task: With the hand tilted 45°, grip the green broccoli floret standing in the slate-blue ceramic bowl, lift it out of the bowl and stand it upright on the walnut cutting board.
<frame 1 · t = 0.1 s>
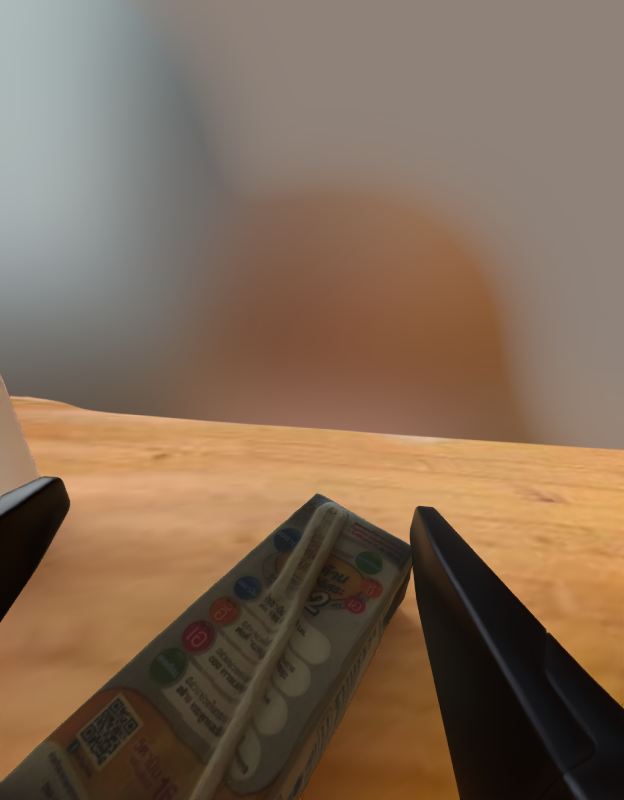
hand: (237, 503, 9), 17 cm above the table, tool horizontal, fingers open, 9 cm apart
beverage carton: (263, 702, 20), on the table
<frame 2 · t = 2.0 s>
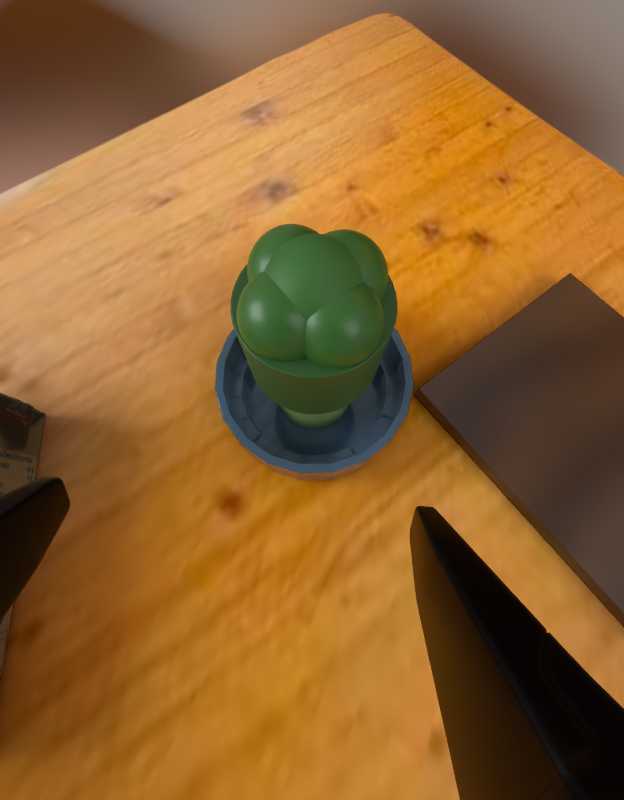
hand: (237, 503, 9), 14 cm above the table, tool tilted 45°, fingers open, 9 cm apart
bowl: (314, 396, 25), on the table
board: (616, 456, 24), on the table
broccoli: (314, 393, 24), point 1 cm above the table, touching bowl
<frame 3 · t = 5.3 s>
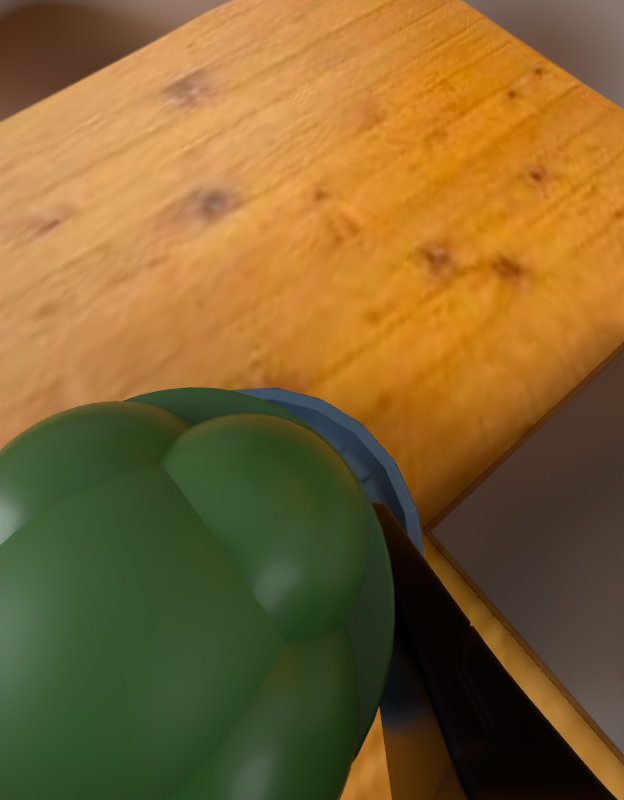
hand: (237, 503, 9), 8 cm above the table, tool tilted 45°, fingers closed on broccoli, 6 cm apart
bowl: (268, 539, 16), on the table
broccoli: (265, 540, 16), point 1 cm above the table, touching bowl, gripper
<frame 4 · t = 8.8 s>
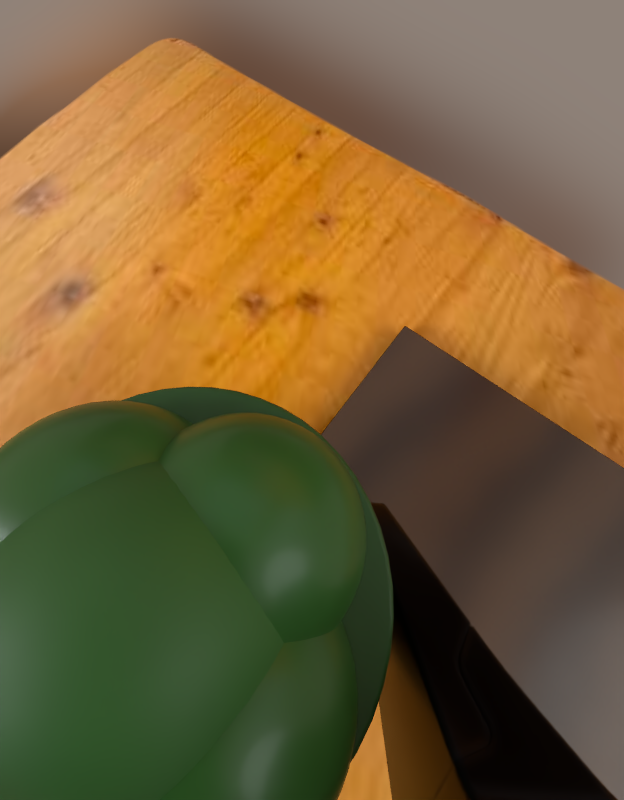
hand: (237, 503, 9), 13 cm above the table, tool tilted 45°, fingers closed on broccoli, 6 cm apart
board: (485, 526, 22), on the table
broccoli: (265, 540, 16), point 6 cm above the table, touching gripper
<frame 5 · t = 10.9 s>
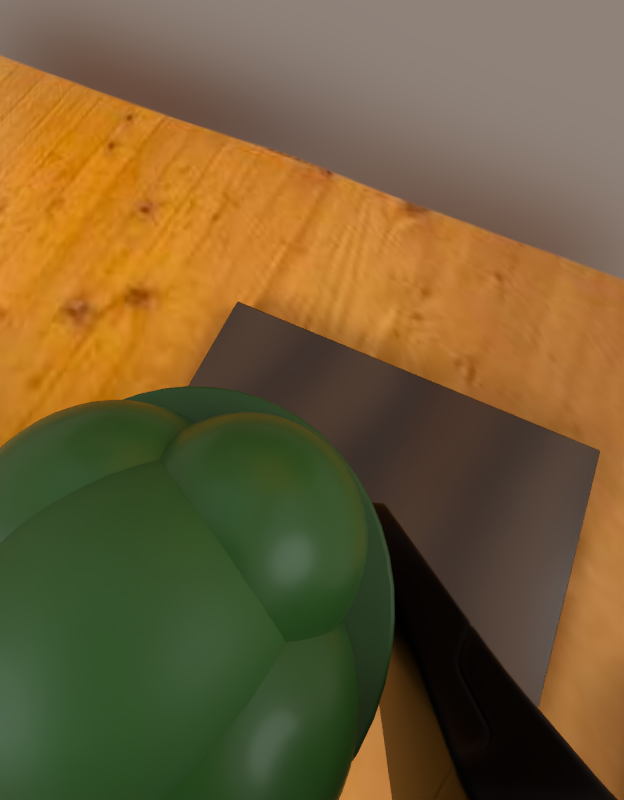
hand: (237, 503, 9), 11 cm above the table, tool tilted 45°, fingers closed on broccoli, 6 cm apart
board: (353, 494, 20), on the table
broccoli: (265, 540, 16), point 4 cm above the table, touching gripper
when the fingers open (8 cm above the table, at t = 12.6 s): broccoli stays where it is, resting on board.
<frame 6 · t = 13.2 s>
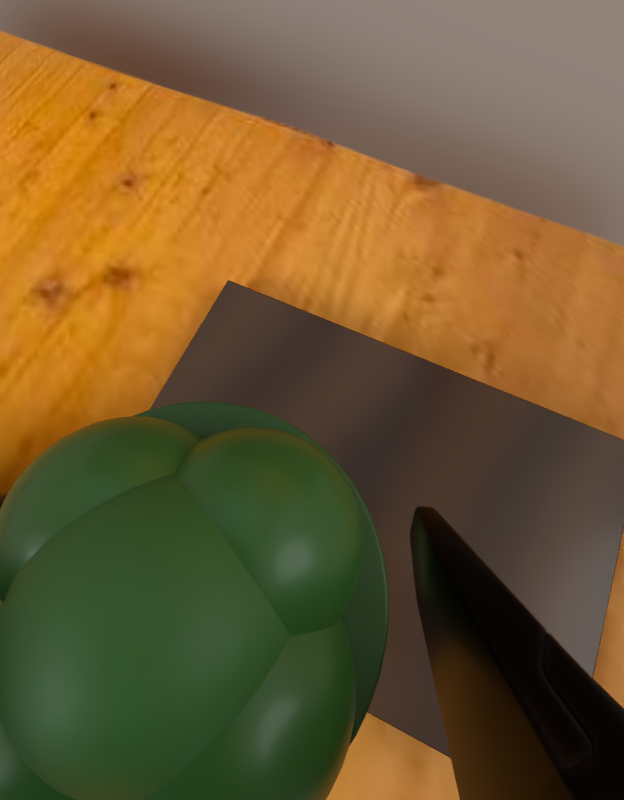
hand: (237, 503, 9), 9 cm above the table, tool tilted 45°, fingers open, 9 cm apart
board: (359, 496, 18), on the table
broccoli: (267, 541, 16), point 1 cm above the table, touching board
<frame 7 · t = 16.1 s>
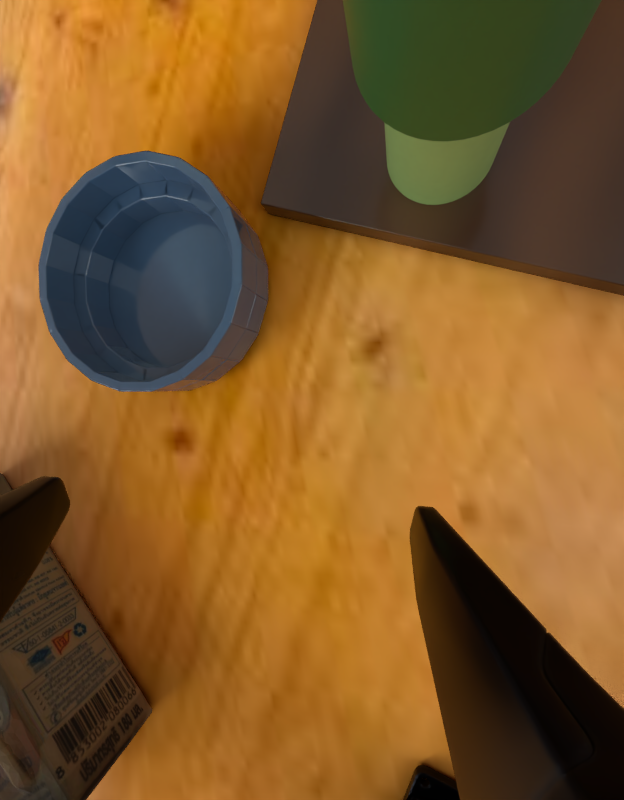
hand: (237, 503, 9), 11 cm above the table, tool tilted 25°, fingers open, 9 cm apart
bowl: (180, 293, 22), on the table
board: (527, 101, 17), on the table
broccoli: (439, 152, 17), point 1 cm above the table, touching board
beverage carton: (46, 608, 25), on the table
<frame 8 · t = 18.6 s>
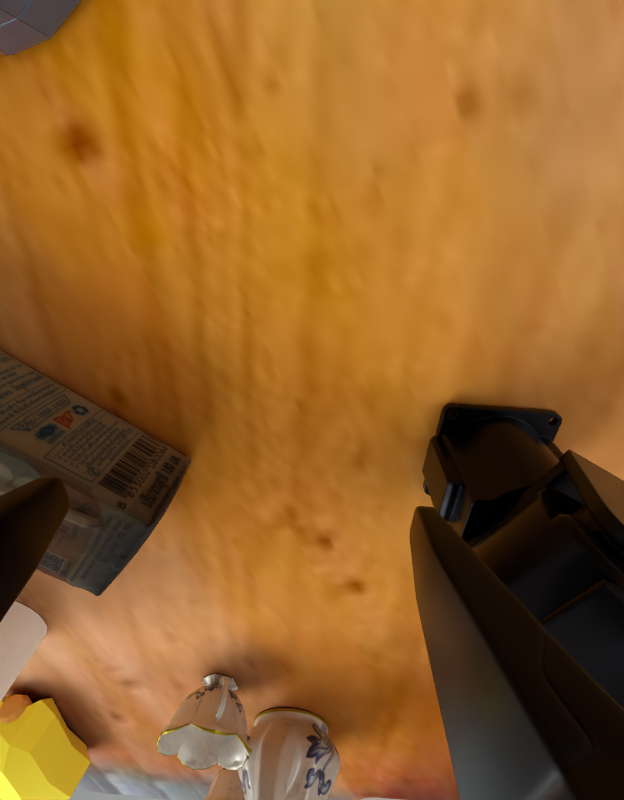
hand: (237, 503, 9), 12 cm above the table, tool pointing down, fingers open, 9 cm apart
chinaware: (265, 722, 41), on the table
beverage carton: (39, 416, 23), on the table
orange-capped yellow polyhedron: (53, 719, 45), on the table
cylindrical container: (10, 618, 35), on the table
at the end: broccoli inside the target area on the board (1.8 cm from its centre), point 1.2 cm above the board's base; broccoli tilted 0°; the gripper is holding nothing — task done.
